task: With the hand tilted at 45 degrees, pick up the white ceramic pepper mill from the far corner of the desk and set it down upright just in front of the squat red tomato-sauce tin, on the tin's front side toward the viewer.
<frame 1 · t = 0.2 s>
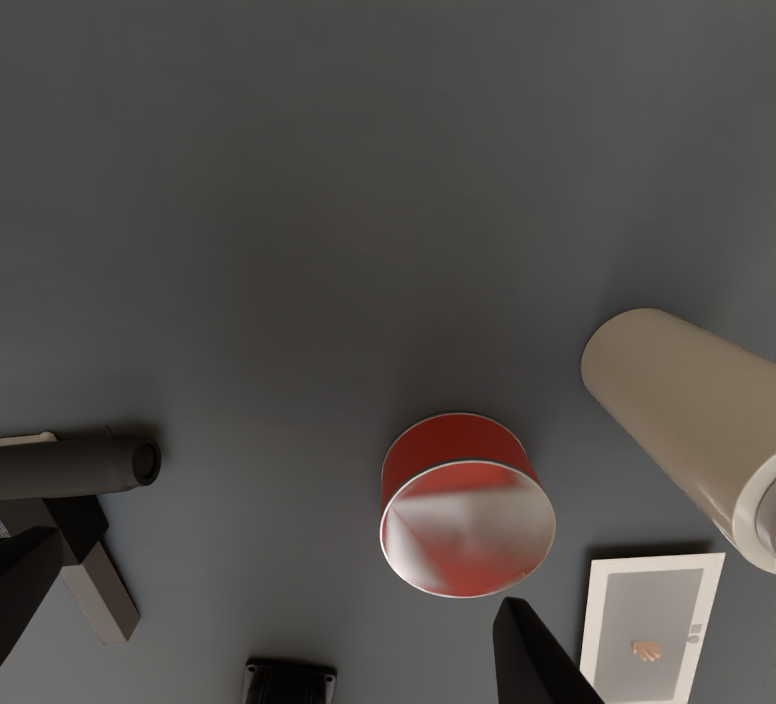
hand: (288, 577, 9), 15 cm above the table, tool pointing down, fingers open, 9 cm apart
sauce tin: (454, 475, 25), on the table
door handle: (37, 529, 27), on the table
pepper mill: (634, 359, 23), on the table
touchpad: (632, 624, 30), on the table
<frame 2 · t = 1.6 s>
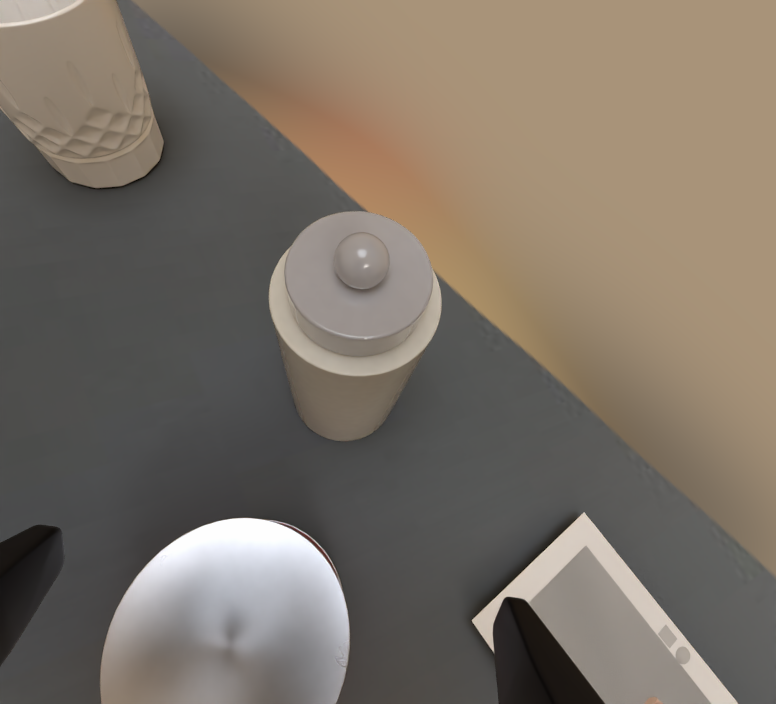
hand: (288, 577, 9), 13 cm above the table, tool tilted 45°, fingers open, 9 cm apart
sauce tin: (251, 619, 20), on the table
pepper mill: (344, 390, 24), on the table
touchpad: (624, 701, 21), on the table
white cup: (110, 150, 28), on the table
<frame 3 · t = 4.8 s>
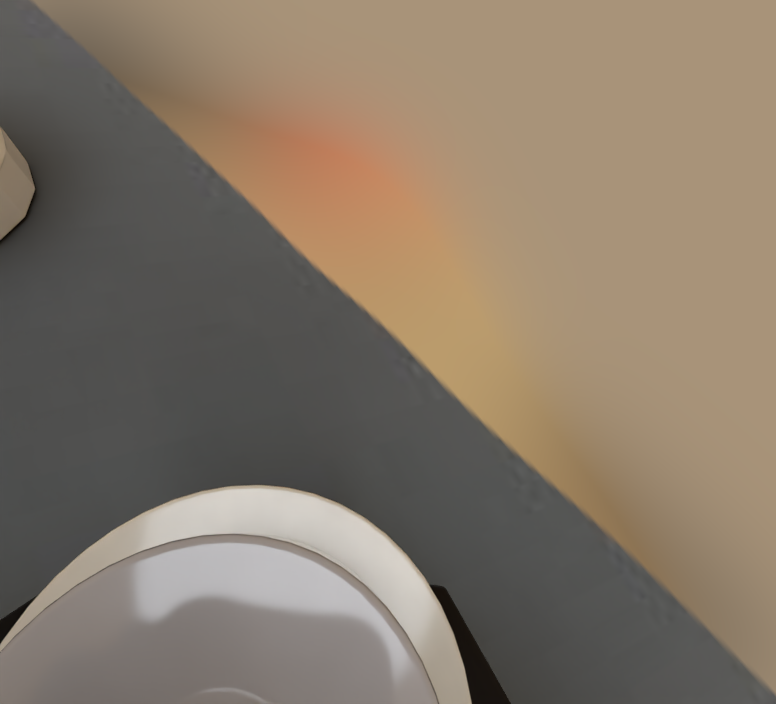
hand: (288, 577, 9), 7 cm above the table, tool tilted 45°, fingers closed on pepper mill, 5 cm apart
pepper mill: (294, 602, 15), on the table, touching gripper
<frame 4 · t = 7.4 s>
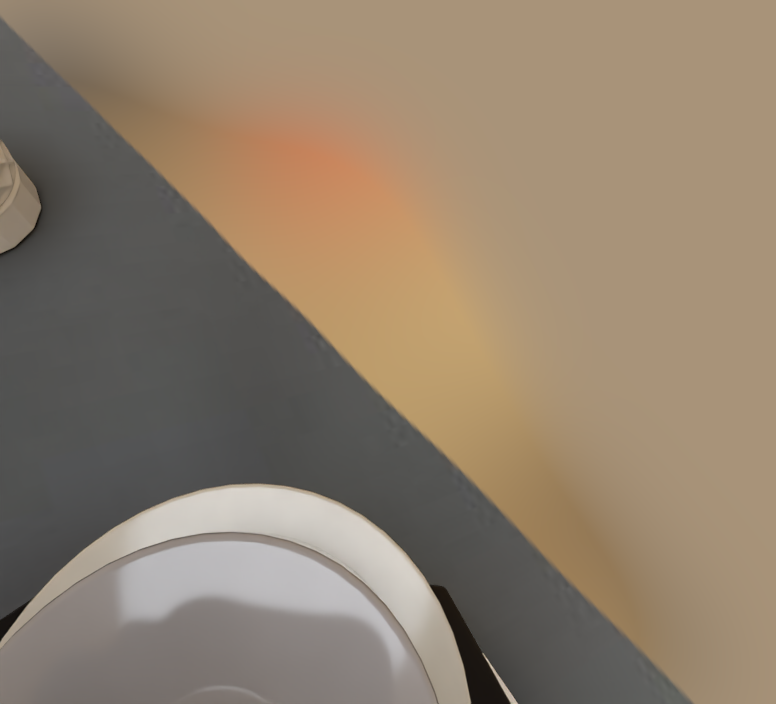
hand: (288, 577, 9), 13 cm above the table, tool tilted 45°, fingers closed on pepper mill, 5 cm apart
pepper mill: (294, 602, 15), point 6 cm above the table, touching gripper
when the fingers open (7 cm above the table, at t = 10.0 s): pepper mill stays where it is, on the table.
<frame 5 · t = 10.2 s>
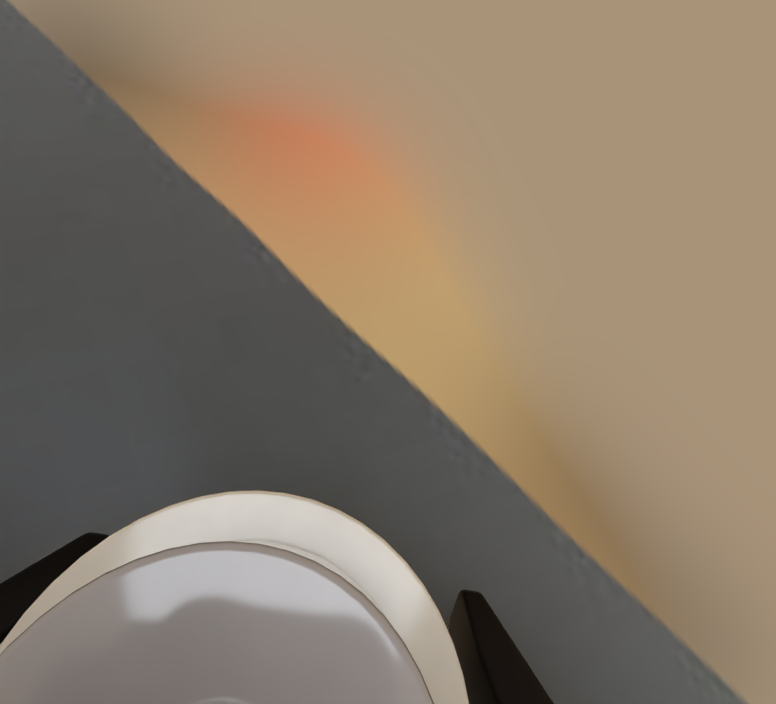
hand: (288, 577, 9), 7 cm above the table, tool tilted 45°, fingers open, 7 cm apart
pepper mill: (294, 605, 15), on the table
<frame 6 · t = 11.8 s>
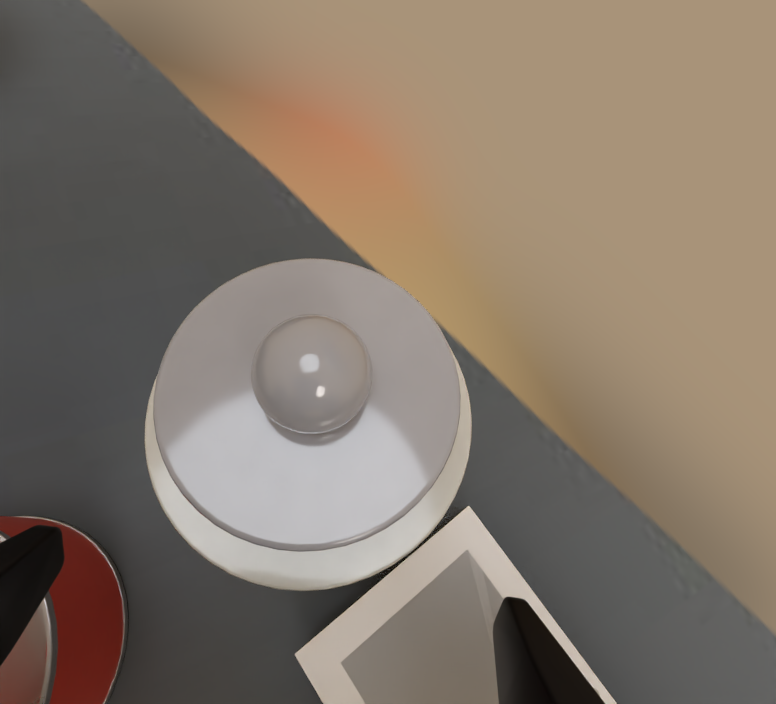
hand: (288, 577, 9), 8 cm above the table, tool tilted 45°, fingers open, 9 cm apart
pepper mill: (323, 477, 18), on the table
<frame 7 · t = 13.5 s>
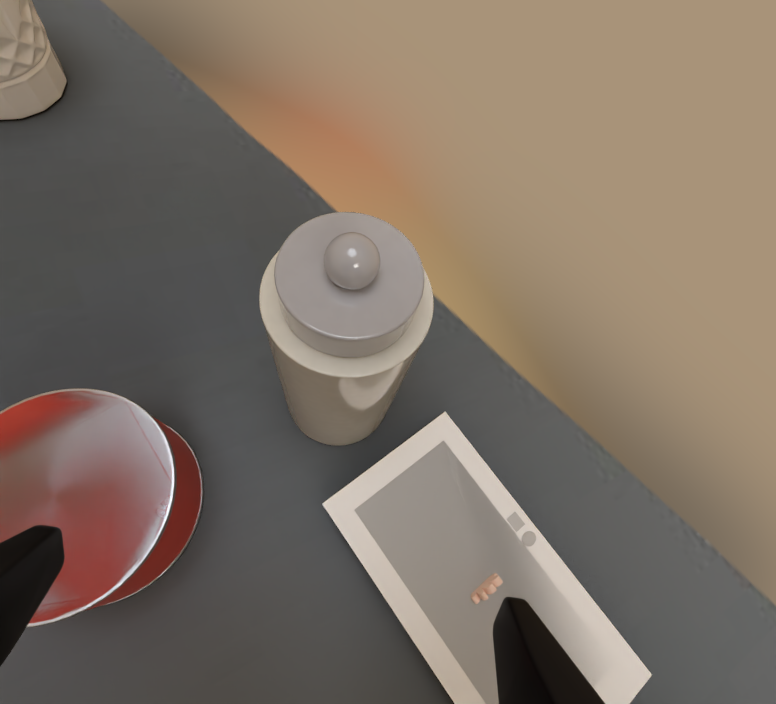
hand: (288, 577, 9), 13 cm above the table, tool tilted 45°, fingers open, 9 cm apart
sauce tin: (109, 503, 21), on the table
pepper mill: (338, 394, 24), on the table
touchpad: (474, 584, 22), on the table
white cup: (13, 88, 29), on the table
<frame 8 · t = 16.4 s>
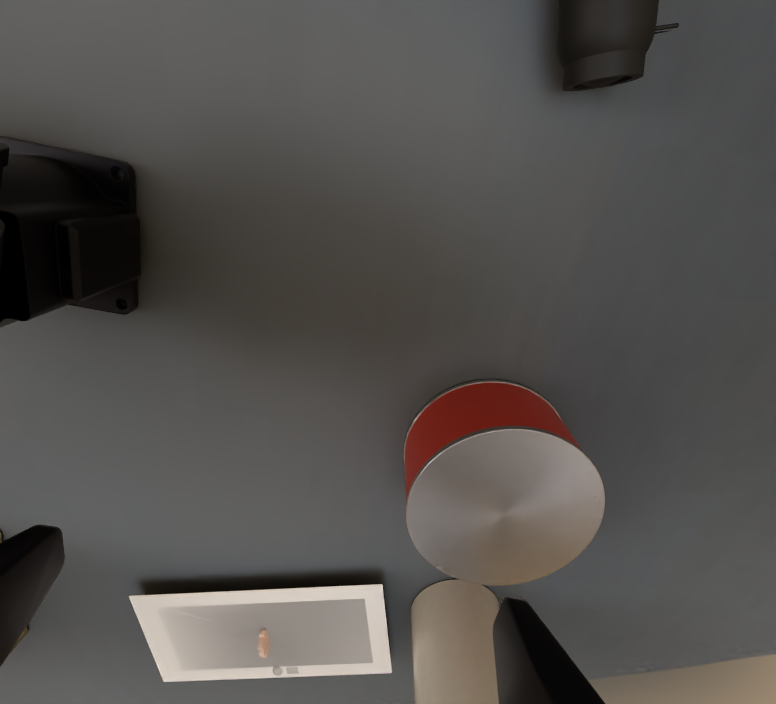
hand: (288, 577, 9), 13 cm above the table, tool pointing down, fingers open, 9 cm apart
sauce tin: (483, 451, 23), on the table
pepper mill: (455, 611, 28), on the table
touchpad: (271, 616, 28), on the table
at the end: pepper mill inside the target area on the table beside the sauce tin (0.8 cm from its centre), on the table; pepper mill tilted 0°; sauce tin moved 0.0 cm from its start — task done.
